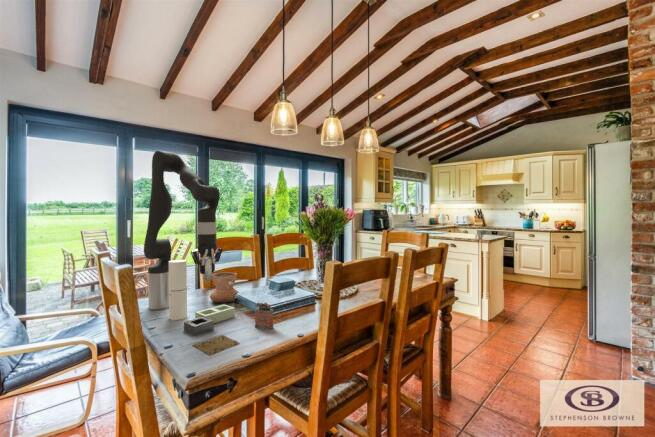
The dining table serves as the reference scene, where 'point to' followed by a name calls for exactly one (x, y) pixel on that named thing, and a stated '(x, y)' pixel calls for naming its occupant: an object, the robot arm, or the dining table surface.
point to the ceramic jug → (224, 287)
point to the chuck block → (198, 325)
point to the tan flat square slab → (215, 344)
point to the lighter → (264, 316)
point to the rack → (217, 313)
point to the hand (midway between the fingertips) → (207, 273)
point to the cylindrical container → (177, 289)
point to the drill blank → (208, 269)
